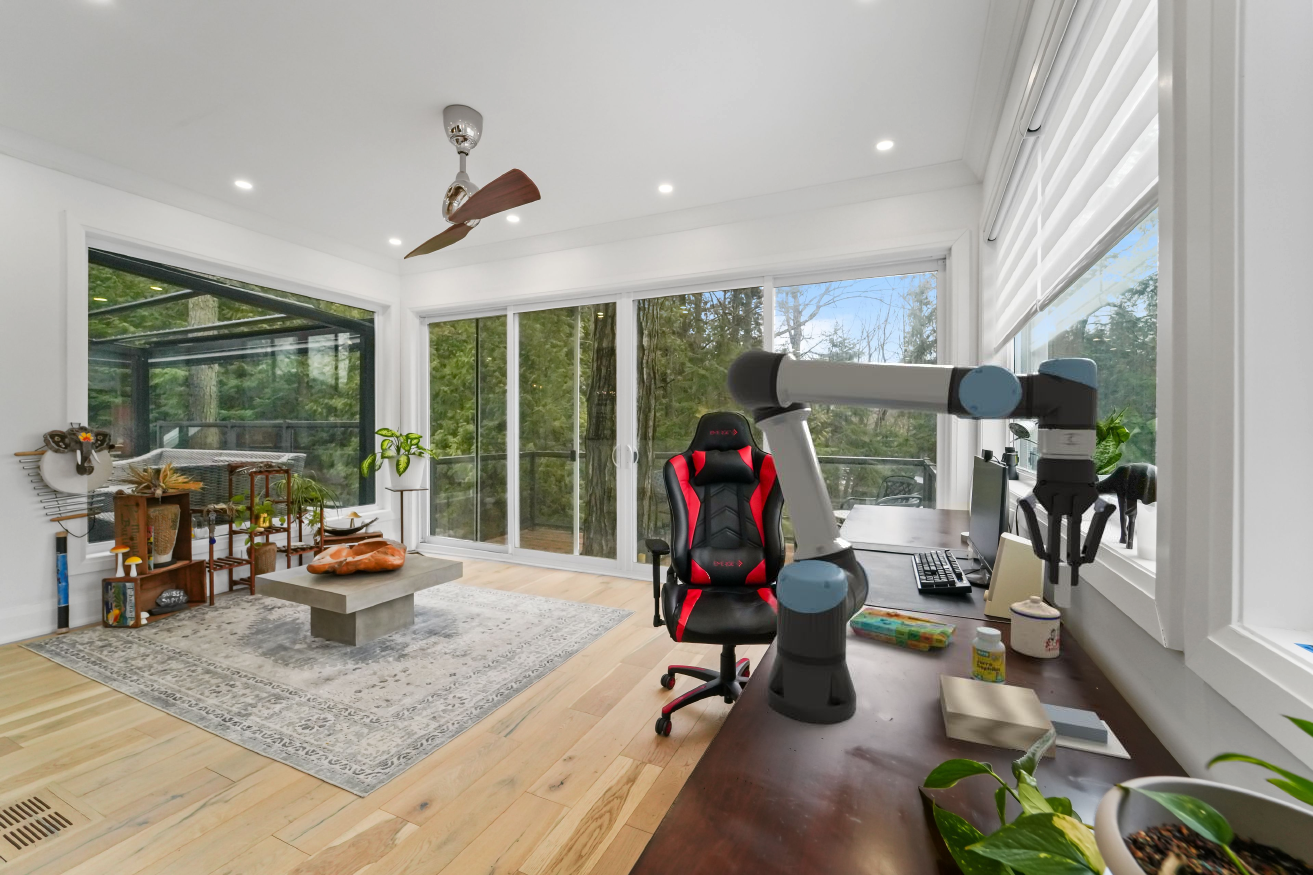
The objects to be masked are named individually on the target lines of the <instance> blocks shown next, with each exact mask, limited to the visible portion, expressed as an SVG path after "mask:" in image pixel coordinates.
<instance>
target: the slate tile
mask: <svg viewBox="0 0 1313 875" xmlns="http://www.w3.org/2000/svg"><path fill="white" fill-rule="evenodd" d="M1040 703H1041V705H1042V706H1043V708H1044V710H1045V712H1046V714H1047V716H1048V717H1049V719H1050V721H1051V723H1052V725H1053V727H1054V728H1055V730H1056V733H1057V735H1062V736H1068V737H1073V738H1079V739H1084V740H1090V741H1095V742H1100V743H1106V744H1107V742H1108V730H1107V729H1106V728H1105V726H1104V725H1103V723H1102V722H1101V721H1100V717H1099V716H1098V715H1097V713H1096V712H1095V711H1090V710H1084V709H1078V708H1077V709H1076V708H1072V707H1066V706H1060V705H1054V704H1047V703H1042V702H1040Z"/></svg>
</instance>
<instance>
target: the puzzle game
mask: <svg viewBox="0 0 1313 875" xmlns="http://www.w3.org/2000/svg"><path fill="white" fill-rule="evenodd" d="M849 627H850V628H851V629H852V631H853V632H854V633H855V635H856V636H859V637H863V638H869V639H872V640H876V641H880V642H885V643H889V644H892V645H893V644H894V645H899V646H902V647H907V648H910V649H915V650H920V651H924V652H927V651H928V650H929V649H930V648H931V647H932V646H933V647H939V648H944V647H947V645H948V644H949V642H950V641H951V640H952V637H953V636H954V634H955V633H956V632H957V625H955V624H949V623H947V622H940V621H937V620H931V619H926V618H921V617H917V616H912V615H908V614H903V613H898V611H894V610H892V611H888V610H882V609H878V608H873V607H870V606H869V607H865V608H864V609H863V610H861V612H860V611H859V613H857V615H856V614H855V615H854V616H853V617H852V618H851V619H850V620H849Z"/></svg>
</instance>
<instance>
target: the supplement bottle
mask: <svg viewBox="0 0 1313 875" xmlns="http://www.w3.org/2000/svg"><path fill="white" fill-rule="evenodd" d="M1001 632H1002V631H1000V630H999V629H996V628H993V627H986V626H979V627H976V637H975V638H974V640H973V641H972V646H971V647H972V659H971V660H972V671H971V673H972V674H971V675H972V678H973V680H977V681H984V682H990V683H996V684H1003V685H1005V684H1006V646H1005V644H1004V643H1003V642H1002V641H1001V640H1002V633H1001Z"/></svg>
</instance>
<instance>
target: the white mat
mask: <svg viewBox="0 0 1313 875" xmlns="http://www.w3.org/2000/svg"><path fill="white" fill-rule="evenodd" d="M1100 721H1101V722H1102V723H1103V725H1104V726H1105V728H1106V729H1107V730H1108V742H1107V744H1106V743H1100V742H1095V741H1090V740H1084V739H1079V738H1073V737H1068V736H1062V735H1057V736H1056V746H1059V747H1064V748H1069V749H1073V750H1079V751H1084V752H1090V753H1094V754H1095V753H1096V754H1100V755H1106V756H1110V757H1116V758H1122V759H1125V760H1131V759H1132V758H1131V756H1130V754H1129V753H1128V751H1127V750H1126V749H1125V748H1124V746H1123V744H1122V743H1121V742H1120V741H1119V739H1118V738H1117V736H1116V735H1115V734H1114V732H1113V731H1112V730H1111V728H1110V727H1109V725H1108V724H1107V723H1106V722H1105V720H1100Z"/></svg>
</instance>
